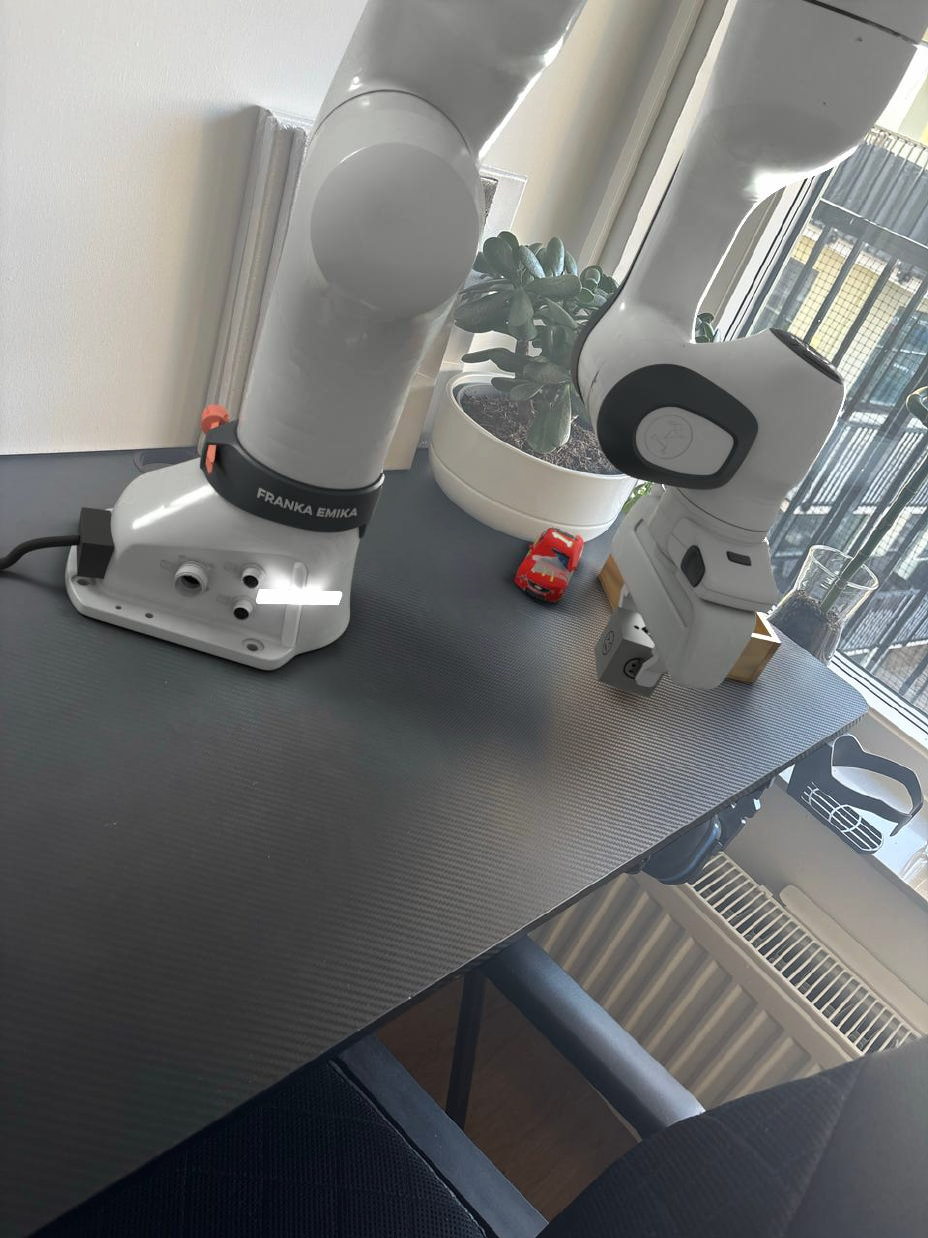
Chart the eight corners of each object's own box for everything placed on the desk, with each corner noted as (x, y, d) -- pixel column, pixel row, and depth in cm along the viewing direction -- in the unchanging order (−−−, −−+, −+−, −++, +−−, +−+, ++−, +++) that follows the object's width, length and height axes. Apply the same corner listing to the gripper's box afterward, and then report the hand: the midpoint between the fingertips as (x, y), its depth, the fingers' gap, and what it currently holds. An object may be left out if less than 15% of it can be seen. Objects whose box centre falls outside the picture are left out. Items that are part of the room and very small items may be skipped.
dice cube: (649, 698, 84) (675, 656, 82) (598, 681, 83) (623, 638, 81) (642, 664, 88) (667, 623, 86) (593, 648, 88) (617, 606, 85)
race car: (553, 614, 93) (570, 582, 91) (504, 589, 94) (520, 557, 91) (582, 561, 104) (597, 531, 102) (538, 538, 105) (552, 508, 102)
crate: (634, 659, 92) (660, 616, 89) (597, 576, 103) (619, 535, 100) (754, 683, 96) (782, 643, 94) (706, 601, 107) (730, 563, 104)
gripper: (635, 458, 84) (571, 581, 92) (716, 594, 69) (632, 729, 76) (695, 475, 86) (628, 594, 94) (788, 611, 71) (698, 741, 78)
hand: (630, 656), depth 85 cm, fingers closed on dice cube, 5 cm apart
